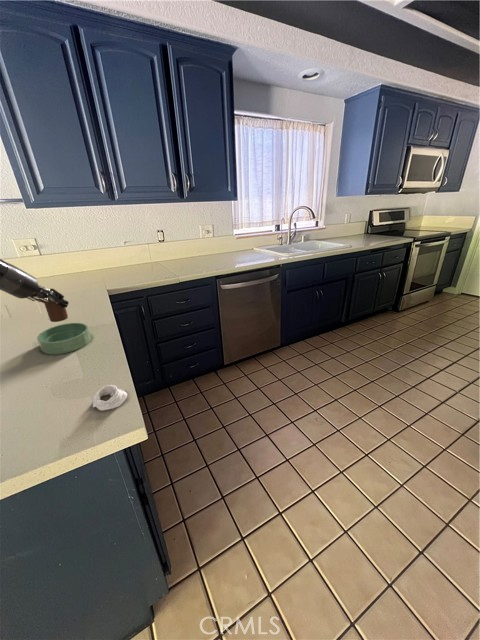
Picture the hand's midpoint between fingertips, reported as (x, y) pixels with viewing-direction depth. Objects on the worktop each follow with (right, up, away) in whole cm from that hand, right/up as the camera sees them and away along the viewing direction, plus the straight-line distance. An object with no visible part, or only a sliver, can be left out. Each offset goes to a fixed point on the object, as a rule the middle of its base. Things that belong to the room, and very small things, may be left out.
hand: (59, 304), depth 90 cm
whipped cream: (+29, -27, -22) cm, 45 cm away
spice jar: (0, -5, 0) cm, 5 cm away
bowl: (0, -14, +5) cm, 15 cm away
